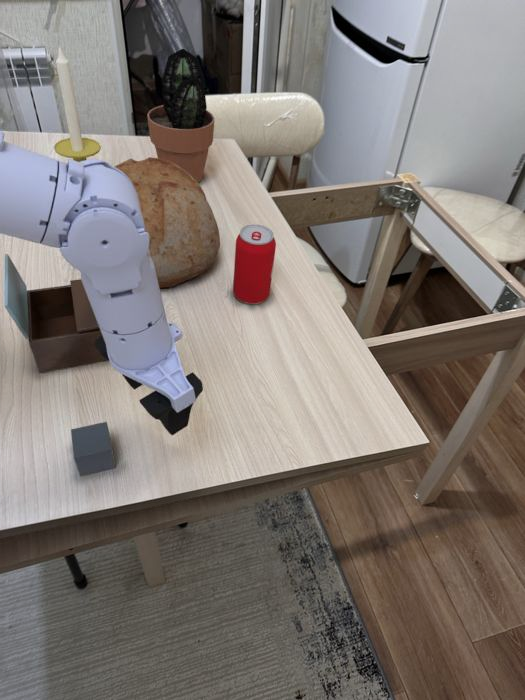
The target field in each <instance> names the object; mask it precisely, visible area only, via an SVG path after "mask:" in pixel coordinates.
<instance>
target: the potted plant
mask: <svg viewBox="0 0 525 700" xmlns="http://www.w3.org/2000/svg"><path fill="white" fill-rule="evenodd" d="M205 87H206V79H205V76H204V73H203V70H202V65H201V62H200V59H199V58H198V57H197V56H195V55H194V54H192V53H191V52H189V51H187V50H186V49H185V48H181V49H179V50H177V51H175V52H173V53H172V54H170V55H167V60H166V64H165V67H164V71H163V75H162V78H161V92H162V103H163V104H162V105H159V106H155V107H153V108H152V109H150V110H149V111H148V113H147V114H146V116H147V125H148V133H149V139H150V142H151V143H152V144H153V145H154V148H155V152H156V156H157V158H161V159H164V160H168V161H170V162H172V163H174V164H176V165H178V166H179V167H181V168H182V169H184V170H185V171H186V172H188V173H189V174H190V175H191V176H192V177H193V178H194V179H195V181H196V182H197V183H198V184H199V183H200V182H201V181H202V180H203V176H204V171H205V167H206V163H207V159H208V153H209V149H210V147H211V146H212V145H213V142H214V133H215V132H214V131H215V120H216V119H215V116H214V115H213V113H212V112H210V111H209V110H207V109H208V106H207V98H206V91H205V90H206V89H205Z"/></svg>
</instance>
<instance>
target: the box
mask: <svg viewBox="0 0 525 700" xmlns="http://www.w3.org/2000/svg"><path fill="white" fill-rule="evenodd" d="M69 281H70V284H66V285H59V286H50V287H44V288H36V289H27V308H28V333H29V338H28V345H29V348H30V350H31V354H32V357H33V358H34V361H35V365H36V368H37V370H38V373H39V374H42V373H43V374H44V373H47V372H53V371H60V370H65V369H70V368H71V369H72V368H75V367H76V368H77V367H81V366H88V365H92V364H93V365H94V364H99V363H104V362H110V360H108V359H106V358H105V357H103V356H102V355H101V354H100V353H99V351H98V350H97V349H96V348H95V346H94V343H95V341H96V340H97V339H98V338H99V337H101V336H102V333H101V331H100V328H99V325H98V323H97V320H96V317H95V315H94V312H93V309H92V307H91V304H90V302H89V299H88V296H87V294H86V291H85V289H84V286H83V283H82V281H81V278H80V279H72V280H69Z"/></svg>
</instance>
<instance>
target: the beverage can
mask: <svg viewBox="0 0 525 700" xmlns="http://www.w3.org/2000/svg"><path fill="white" fill-rule="evenodd" d="M274 236H275V235H274V232H273V230H271V228H269V227H267V226H265V225H262V224H255V223H254V224H247V225H245V226H243V227H242V228H241V229H240V231H239V234H238V235H237V237H236V239H235V247H234V250H235V251H234V265H233V266H234V267H233V283H232V293H233V295H234V297H235V298H236V299H237V300H238V301H240V302H242V303H245V304H249V305H256V304H260V303H263V302H265V301H266V300H268V299H269V297H270V295H271V289H272V280H273V271H274V265H275V256H276V247H277V241H276V239H275V237H274Z"/></svg>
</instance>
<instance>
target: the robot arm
mask: <svg viewBox="0 0 525 700" xmlns="http://www.w3.org/2000/svg"><path fill="white" fill-rule="evenodd" d="M4 139H5V132H4V131H3V130H0V234H1V235H5V236H9V237H11V238H16V239H20V240H24V241H27V242H31V243H35V244H40V245H43V246H46V247H51V248H57V249H59V252H60V254H61V256H62V257H63V258H64V260H65V261H66V262H67V263H68V264H69V265H70V266H71V267H73V268H74V269H75V270H77V271H79V272H80V279H81V281H82V283H83V286H84V289H85V291H86V294H87V296H88V299H89V302H90V304H91V307H92V309H93V312H94V315H95V317H96V320H97V323H98V325H99V328H100V331H101V333H102V336H101V337H99V338H98V339H97V340H96V341H95V343H94V346H95V348H96V349H97V350H98V351H99V353H100V354H101V355H102V356H103V357H105V358H106V359H108V360H110V361H109V363H110V366H111V367H112V368H113V369H114V370H115V371H116V372H118V373H120V374H121V375H122V377H123V378H124V380H125V381H126V382H127V384H128V385H129V386H130V387H131V388H132V389H133V390H137V389H139V388H140V387H142V386H143V385H144V386H145V387H147V388H149V389H151V390H153V391H152V392H150V393H149V394H147V395H145V396H144V397H142V398H139V401H138V402H139V403H140V405H141V406H142V407H143V409H144V410H145V411H146V412H147V413H148V414H149V416H151V418H153V419H154V420H158V421H160V423H161V425H162V427H164V429H165V430H166V431H167V432H168V434H169V435H171V436H174V435H176V434H177V433H179V432H180V431H182V430H183V429H185V428H187V427H188V425H189V421H190V416H191V412H192V408H193V406H194V403H196V401H197V399H198V397H199V396H200V395H201V394H202V393H203V391H204V386H203V381H202V380H201V379H200V377H198V376H197V374H195V372H193V371H192V372H190V373H188V374H187V375H186V373H185V371H184V368H183V365H182V361H181V358H180V356H179V352H178V347H177V346H176V342H178V341H179V340H181V339H182V338H183V333H182V330H181V329H180V327H178V325H176V324H175V323H174V322H168V318H167V315H166V311H165V305H164V302H163V297H162V293H161V288H159V284H158V280H157V276H156V271H155V267H154V263H153V261H152V259H151V257H150V252H149V242H150V239H149V233H148V232H146V229H145V225H144V220H143V216H142V212H141V207H140V203H139V199H138V195H137V192H136V190H135V188H134V185H133V184H132V182H131V180H130V179H129V178H128V177H127V175H125V174H124V173H123V172H122V171H121V170H119V169H117V168H116V167H114V165H112V164H110V163H109V162H107V161H106V160H104V159H98V158H97V159H96V158H95V159H93V158H92V159H87V160H85V161H81V162H77V161H74V160H73V158H69V159H68V160H67V163H66V162H65V161H62V160H58V159H55V158H53V157H50V156H47V155H44V154H42V153H38V152H37V151H33V150H31V149H27V148H24V147H21V146H19V145H16V144H13V143H10V142H8V141H4Z"/></svg>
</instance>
